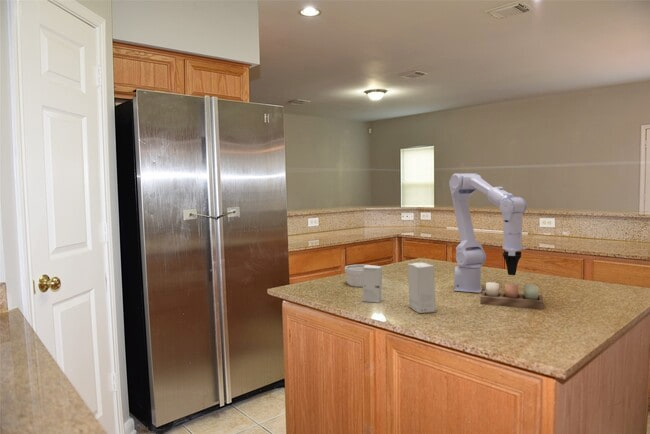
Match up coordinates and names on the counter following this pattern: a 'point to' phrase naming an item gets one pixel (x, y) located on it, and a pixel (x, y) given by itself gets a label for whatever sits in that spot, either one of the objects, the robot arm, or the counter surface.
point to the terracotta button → (511, 290)
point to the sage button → (531, 292)
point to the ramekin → (354, 275)
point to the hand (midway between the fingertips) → (511, 273)
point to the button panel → (511, 301)
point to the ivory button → (492, 289)
